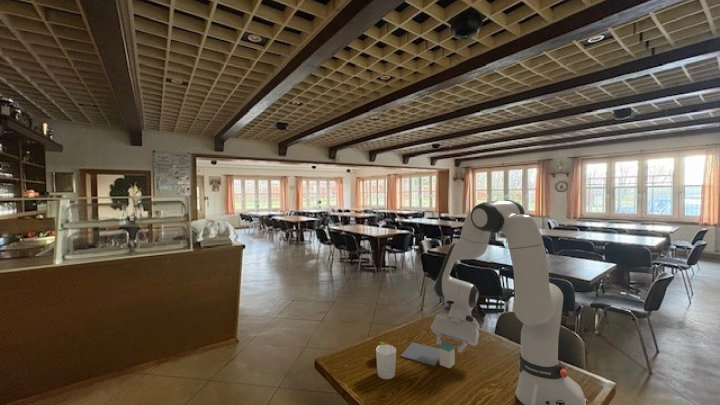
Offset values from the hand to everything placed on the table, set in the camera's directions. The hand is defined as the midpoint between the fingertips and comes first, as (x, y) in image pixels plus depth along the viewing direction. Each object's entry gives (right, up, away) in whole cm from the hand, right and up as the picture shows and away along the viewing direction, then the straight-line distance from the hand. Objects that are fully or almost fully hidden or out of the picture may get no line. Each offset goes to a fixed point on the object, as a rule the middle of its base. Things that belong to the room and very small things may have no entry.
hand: (448, 348), depth 131 cm
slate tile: (-9, -6, +7) cm, 13 cm away
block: (-1, -6, -1) cm, 6 cm away
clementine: (-27, -7, +4) cm, 28 cm away
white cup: (-27, -7, -8) cm, 29 cm away
